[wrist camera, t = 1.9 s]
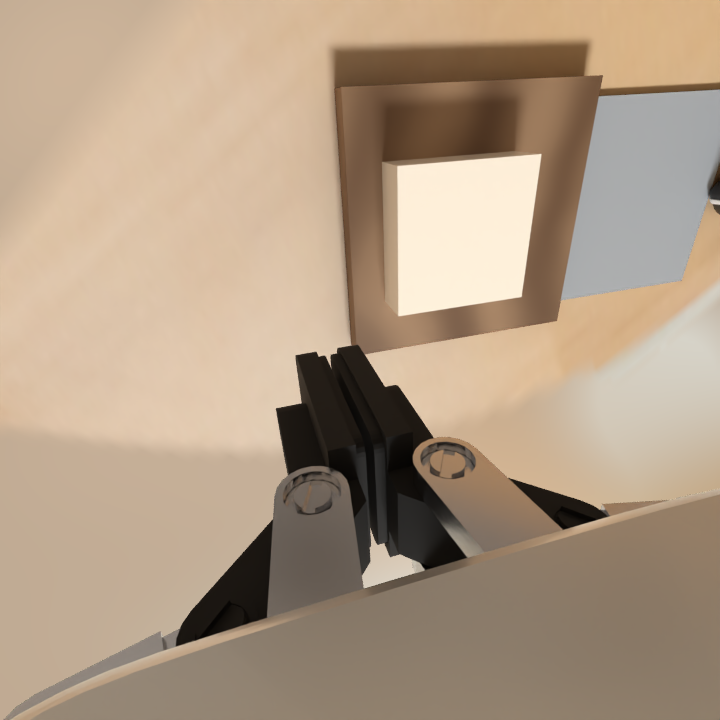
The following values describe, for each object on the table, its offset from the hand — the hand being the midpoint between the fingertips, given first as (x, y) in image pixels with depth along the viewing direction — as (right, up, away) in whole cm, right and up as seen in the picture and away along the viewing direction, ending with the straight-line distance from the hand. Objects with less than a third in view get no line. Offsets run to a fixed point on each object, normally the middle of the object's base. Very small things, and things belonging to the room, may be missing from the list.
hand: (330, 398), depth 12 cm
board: (+7, +10, +16) cm, 20 cm away
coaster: (+6, +9, +15) cm, 18 cm away
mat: (+20, +12, +19) cm, 30 cm away
